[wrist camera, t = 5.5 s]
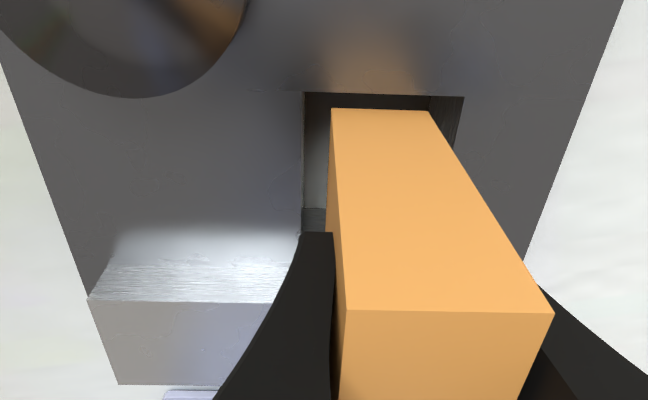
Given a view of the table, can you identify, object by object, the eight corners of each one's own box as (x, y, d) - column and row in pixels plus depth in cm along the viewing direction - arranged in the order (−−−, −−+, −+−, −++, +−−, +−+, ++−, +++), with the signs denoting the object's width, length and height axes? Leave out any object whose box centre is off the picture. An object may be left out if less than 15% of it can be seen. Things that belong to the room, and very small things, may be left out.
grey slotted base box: (464, 293, 18) (501, 389, 15) (136, 287, 18) (87, 384, 14) (619, -213, 10) (809, -297, 6) (-15, -248, 9) (-242, -360, 6)
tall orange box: (406, 236, 13) (479, 483, 7) (325, 234, 13) (331, 482, 7) (427, 110, 11) (555, 313, 5) (331, 108, 11) (346, 309, 5)
